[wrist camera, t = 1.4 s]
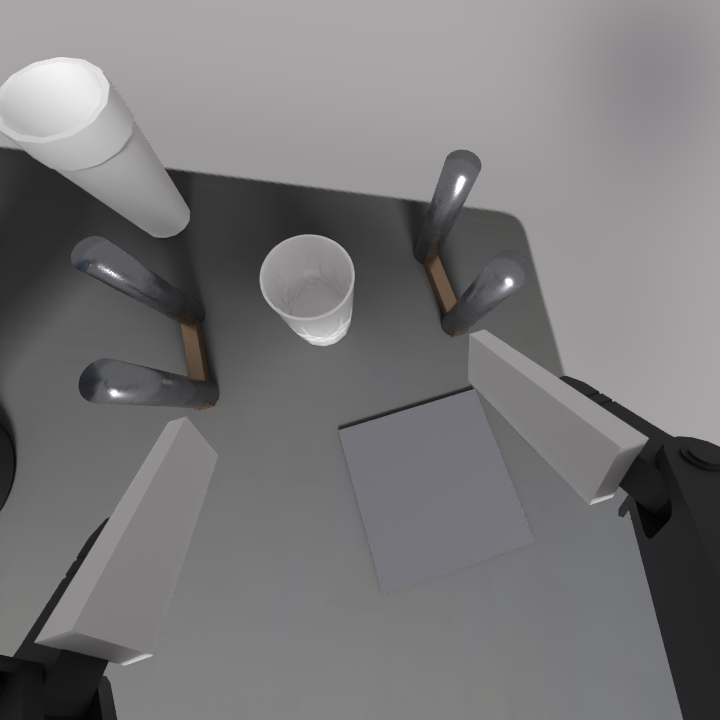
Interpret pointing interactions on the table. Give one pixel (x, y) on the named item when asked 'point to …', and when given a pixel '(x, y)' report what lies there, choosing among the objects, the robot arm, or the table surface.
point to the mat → (432, 491)
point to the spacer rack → (139, 282)
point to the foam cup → (91, 140)
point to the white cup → (310, 287)
